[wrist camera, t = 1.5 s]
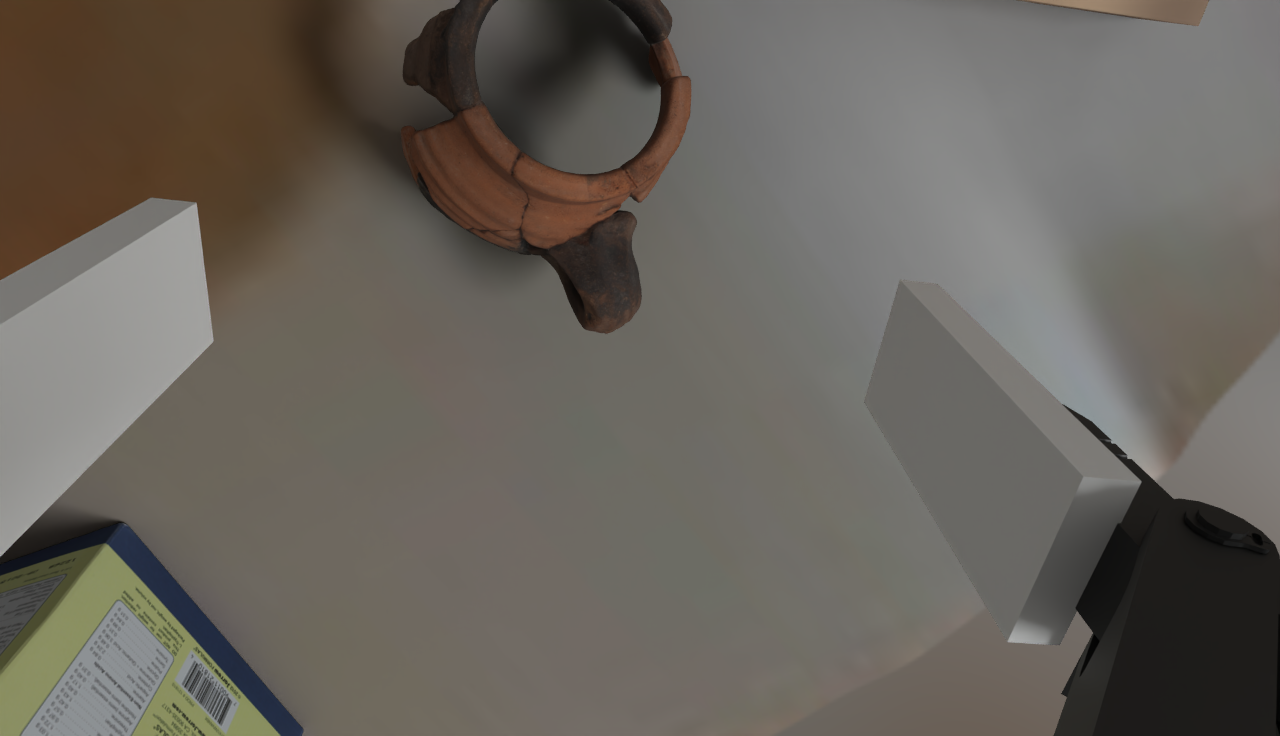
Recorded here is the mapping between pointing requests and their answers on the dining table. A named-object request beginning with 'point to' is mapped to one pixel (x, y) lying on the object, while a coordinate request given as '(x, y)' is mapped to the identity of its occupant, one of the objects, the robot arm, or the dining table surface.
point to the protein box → (119, 650)
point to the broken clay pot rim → (540, 167)
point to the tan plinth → (1140, 8)
